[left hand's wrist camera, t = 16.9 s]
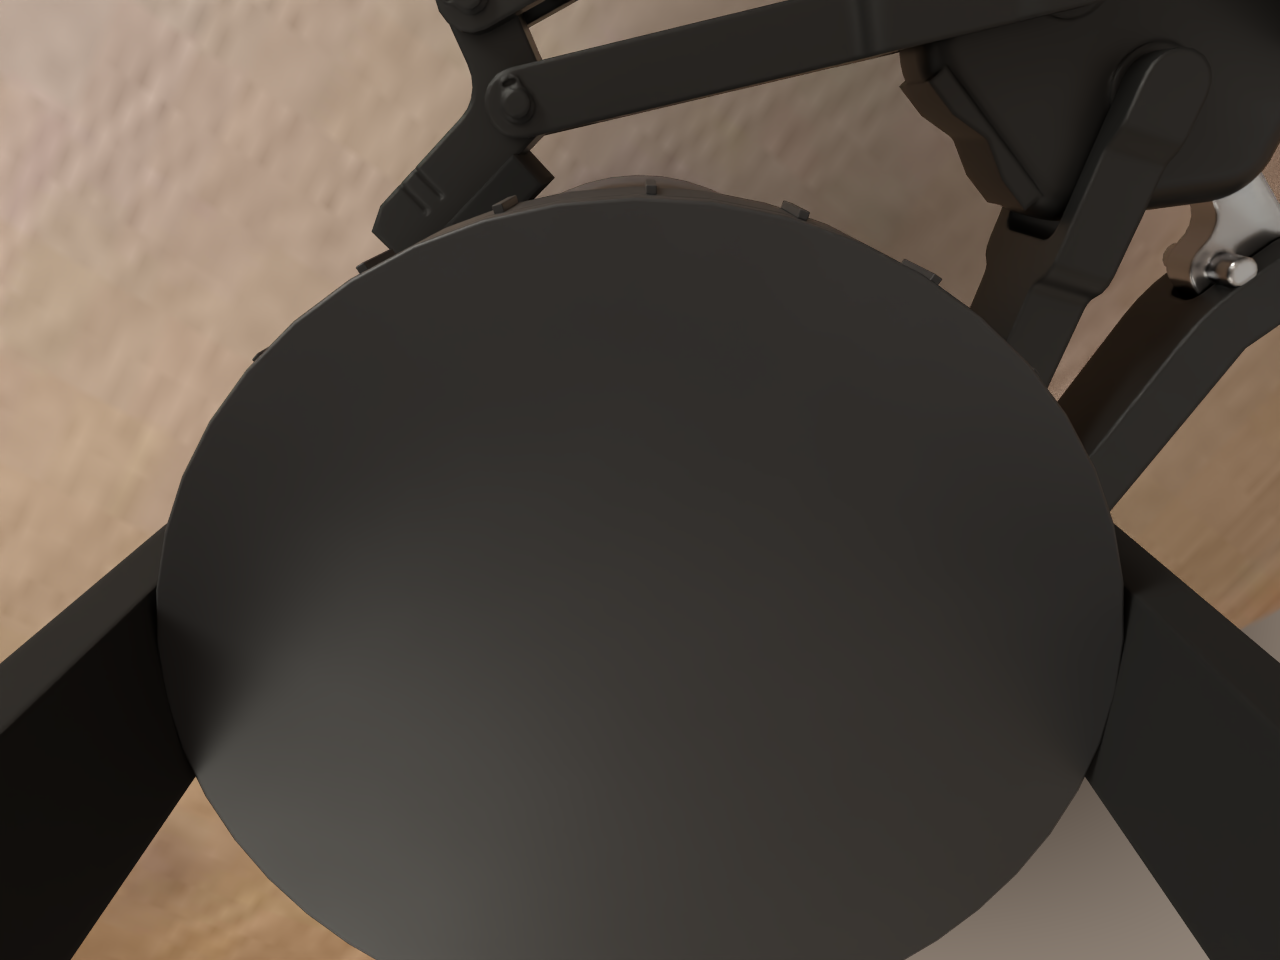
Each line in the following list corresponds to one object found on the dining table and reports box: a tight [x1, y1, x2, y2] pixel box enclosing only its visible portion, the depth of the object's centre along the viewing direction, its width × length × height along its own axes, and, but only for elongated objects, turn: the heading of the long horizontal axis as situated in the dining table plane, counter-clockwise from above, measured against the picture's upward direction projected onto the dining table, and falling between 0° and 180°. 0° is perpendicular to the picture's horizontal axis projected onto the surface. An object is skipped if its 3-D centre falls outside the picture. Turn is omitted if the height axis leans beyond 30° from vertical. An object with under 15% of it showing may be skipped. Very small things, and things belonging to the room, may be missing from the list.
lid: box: [156, 179, 1124, 960], centre depth 11 cm, size 12×12×2 cm
